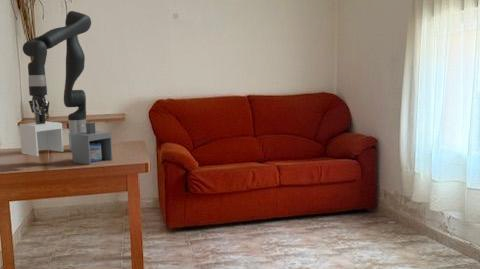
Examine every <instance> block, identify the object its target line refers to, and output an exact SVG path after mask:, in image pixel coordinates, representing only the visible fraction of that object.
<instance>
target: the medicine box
mask: <svg viewBox="0 0 480 269" xmlns="http://www.w3.org/2000/svg"><path fill="white" fill-rule="evenodd" d="M89 144H90V159H91V163H93V162H102V155H101V144H100V143H89Z"/></svg>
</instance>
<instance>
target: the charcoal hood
mask: <svg viewBox="0 0 480 269" xmlns="http://www.w3.org/2000/svg"><path fill="white" fill-rule="evenodd" d="M89 143H100V144H101V155H102V159H103V160H106V161H107V160H108V161H113V160H114V159H113V157H114V156H113V144H112V143H113V142H112V132H109V131H102V130H101V131H100V130H99V131H98V130H96V122H90V121H89V122H86V132H82V133H74V134H71V144H72V151H71V154H72V162H73V163H77V164H83V165H87V166H88V165H89V166H90V165H92V162H91V159H90V144H89Z"/></svg>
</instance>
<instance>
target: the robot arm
mask: <svg viewBox="0 0 480 269" xmlns="http://www.w3.org/2000/svg"><path fill="white" fill-rule="evenodd" d="M64 23H65V26H62V27H61V26H59V27H57V28H56V27H55V28H53V29H50V30H48V31H46V32H44V33H42V34H41V35H39V36H35V37H34V38H31V39H29V40H27V41H26V42H24V44H23V46H22V52H23V53H24V55H25V56H28V57H33V58H32V61H31V62H28V63H27V72H28V74H27V75H28V77H27V78H28V79H27V80H28V95H29V96H30V97H31V100H29V101H28V104H29V106H30V110H31V114H32V113H33V114H34V115H35V113H39V114H40V123H45V121H46V114H48V112H49V108H50V101H49V100H48V101H47V99H46V96H47V95H48V86H47V78H46V69H45V68H46V67H45V65H46V61H47V56H48V55H47V54H48V50H50V49H52V48H54V47H55V46H57V45H59V44H60V43H62V42H65V41H66V44H65V45H66V48H65V49H66V50H65V51H66V53H65V54H66V55H65V79H64V80H65V81H64V91H63V104H64V106H65V108H77V109H76V110H75V111H73V112H71V113H69V114H68V115H67V116H68V117H67V121H68V131H69V132H68V143H69V144H68V145H69V146H68V147H69V151H70V152H72V144H71V134H74V133H82V132H86V123H87V98H86V92H85V90H83V89H74V85H75V83H76V81H77V80H78V78H79V77H80V76H81V75H82V73H83V71H84V70H85V60H86V57H85V52H84V50H83V47H82V46H81V44H80V40H79V38H78V35H81V34H84V33H86V32H88V31H89V30H90V28H91V26H92V19H91V17H90V16H89V15H87V14H85V13H81V12H78V11H75V10H70V11H69V12H67V14H66V15H65V22H64Z"/></svg>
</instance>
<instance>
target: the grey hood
mask: <svg viewBox="0 0 480 269" xmlns="http://www.w3.org/2000/svg"><path fill="white" fill-rule="evenodd" d="M34 117H35V122H29V123H21V124H19V137H20V146H21V154H25V155H29V156H34V157H39V154H40V153H39V151H46V150H49V151H56V152H62V153H63V152H64V137H63V123H62V122H55V121H46V120H45V123H40V114H39V113H35V114H34Z"/></svg>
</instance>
